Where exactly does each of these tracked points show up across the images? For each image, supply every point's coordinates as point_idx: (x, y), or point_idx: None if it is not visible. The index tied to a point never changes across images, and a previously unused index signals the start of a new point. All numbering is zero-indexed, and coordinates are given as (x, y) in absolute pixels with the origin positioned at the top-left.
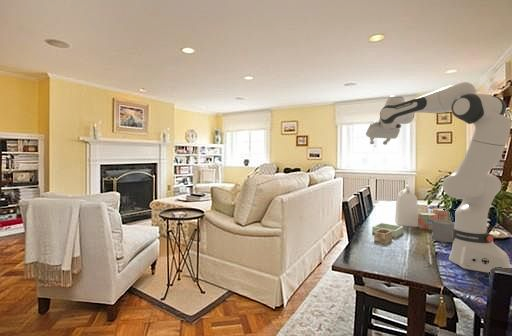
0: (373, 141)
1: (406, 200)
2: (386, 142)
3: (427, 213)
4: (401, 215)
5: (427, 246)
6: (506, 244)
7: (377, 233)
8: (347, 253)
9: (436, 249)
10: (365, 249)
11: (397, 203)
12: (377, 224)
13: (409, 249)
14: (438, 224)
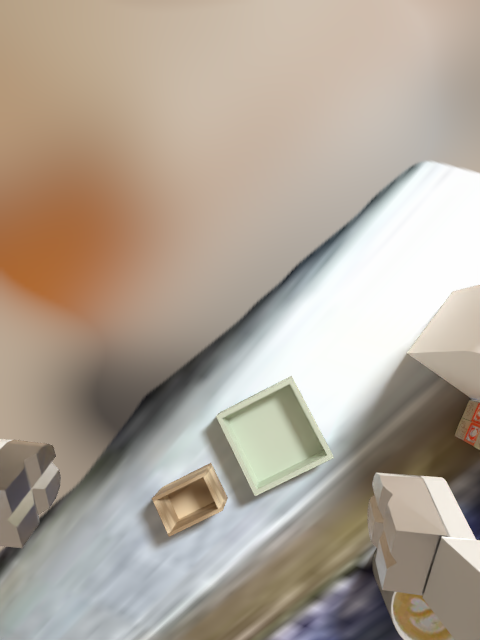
0: (2, 534)
1: None
2: (418, 588)
3: None
4: (434, 359)
5: (283, 597)
6: None
7: (157, 507)
8: (15, 547)
9: (285, 630)
10: (82, 540)
11: (478, 308)
12: (258, 396)
13: (204, 594)
14: (389, 609)
